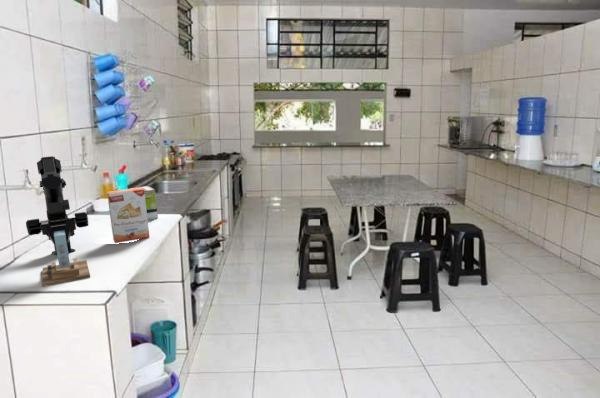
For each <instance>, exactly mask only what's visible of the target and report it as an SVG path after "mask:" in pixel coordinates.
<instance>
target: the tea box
mask: <svg viewBox="0 0 600 398" xmlns="http://www.w3.org/2000/svg"><path fill="white" fill-rule="evenodd" d="M135 188H142V189H144V194H145V202H146V211H147V220H148V221H150V220H155V219H158V218H159V215H158V214H159V213H158V206H157V205H158V204H157V195H156V194H157V193H156V189H155V188H153V187H151V186H148V185H147V186H146V185H145V186H139V187H138V186H137V187H132V188H131V187H130V188H129V189H135Z"/></svg>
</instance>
